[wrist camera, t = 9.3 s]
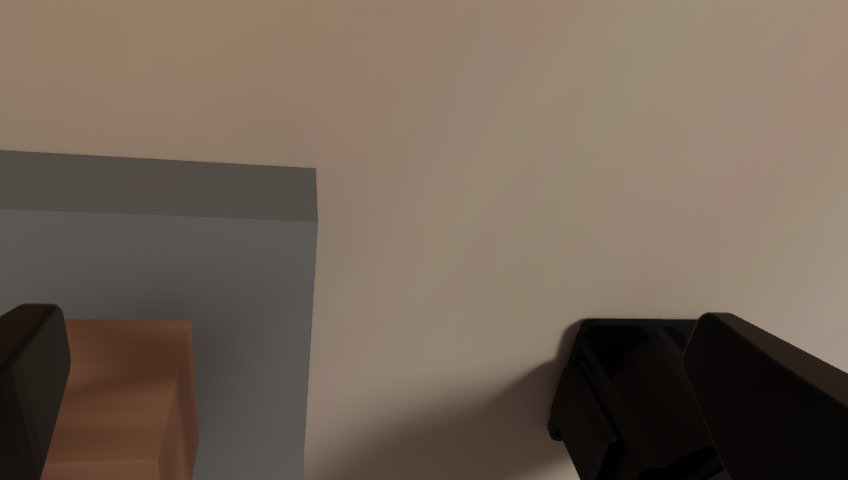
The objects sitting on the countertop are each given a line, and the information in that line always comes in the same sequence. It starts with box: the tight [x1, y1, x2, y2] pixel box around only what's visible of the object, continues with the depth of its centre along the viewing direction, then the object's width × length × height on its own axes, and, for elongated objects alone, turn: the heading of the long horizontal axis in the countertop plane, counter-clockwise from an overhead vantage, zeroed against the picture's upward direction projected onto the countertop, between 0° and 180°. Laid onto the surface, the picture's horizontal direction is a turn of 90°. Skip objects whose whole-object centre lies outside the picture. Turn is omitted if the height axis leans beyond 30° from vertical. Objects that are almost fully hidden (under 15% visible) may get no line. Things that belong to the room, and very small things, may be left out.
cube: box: [40, 319, 199, 480], centre depth 17 cm, size 5×5×5 cm
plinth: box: [0, 150, 318, 480], centre depth 21 cm, size 12×12×4 cm
